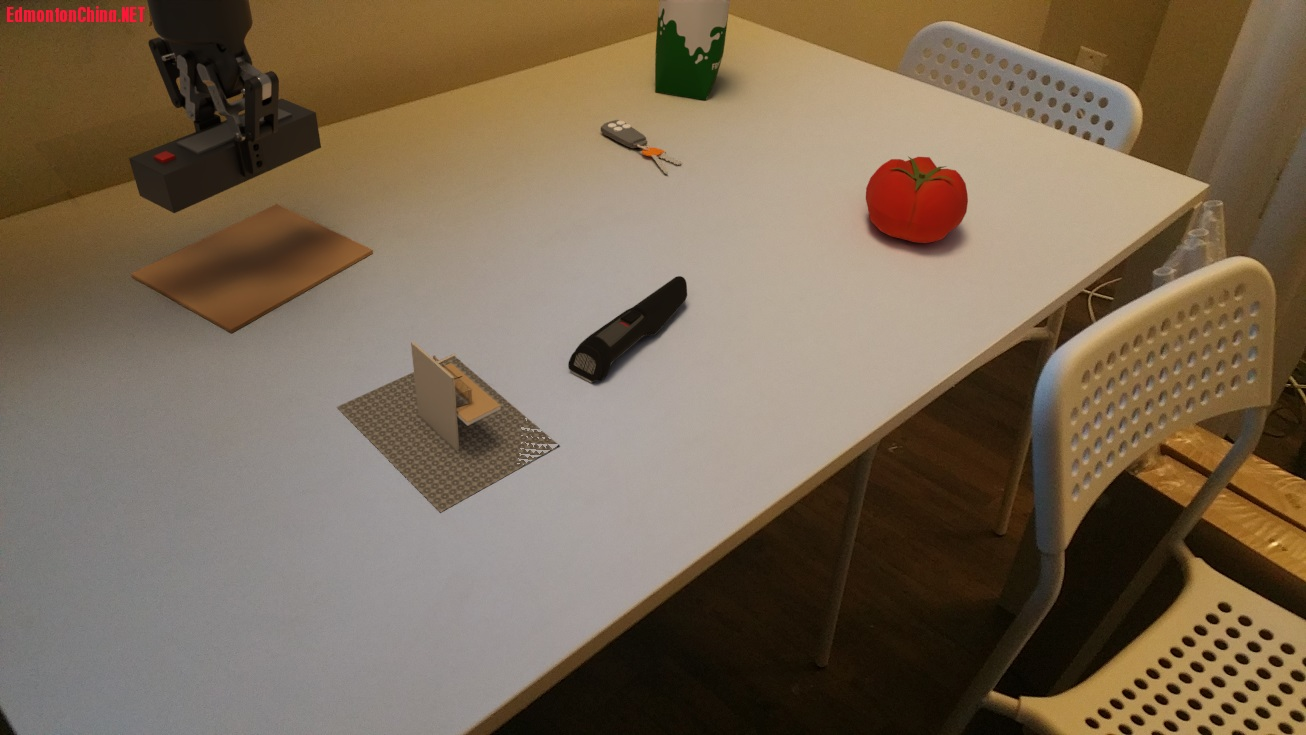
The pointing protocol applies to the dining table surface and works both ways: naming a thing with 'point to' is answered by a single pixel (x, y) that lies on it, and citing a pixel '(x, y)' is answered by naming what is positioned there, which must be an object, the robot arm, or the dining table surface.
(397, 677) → the dining table surface
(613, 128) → the key chain
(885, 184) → the tomato
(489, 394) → the architectural model
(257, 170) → the robot arm
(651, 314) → the electric trimmer
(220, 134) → the remote
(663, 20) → the milk carton
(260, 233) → the cork mat
